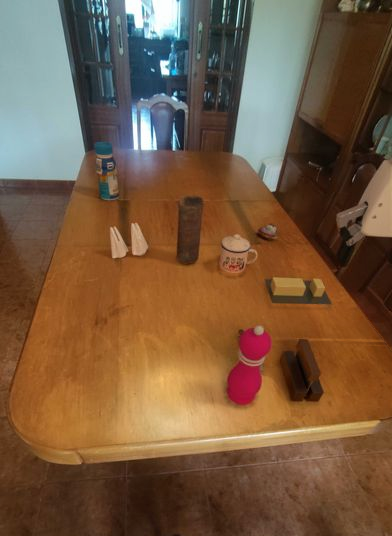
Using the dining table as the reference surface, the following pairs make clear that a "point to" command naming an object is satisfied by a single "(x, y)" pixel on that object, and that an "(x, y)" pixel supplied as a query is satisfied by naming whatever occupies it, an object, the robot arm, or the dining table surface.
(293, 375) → the dark wooden bar pair
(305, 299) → the slate board
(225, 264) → the teacup with lid
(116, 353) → the dining table surface
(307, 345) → the dark brown flat block
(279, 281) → the butter
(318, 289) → the butter slice
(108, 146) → the beverage bottle
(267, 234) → the pastry
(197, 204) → the candle
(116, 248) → the shaker set
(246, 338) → the pepper mill
